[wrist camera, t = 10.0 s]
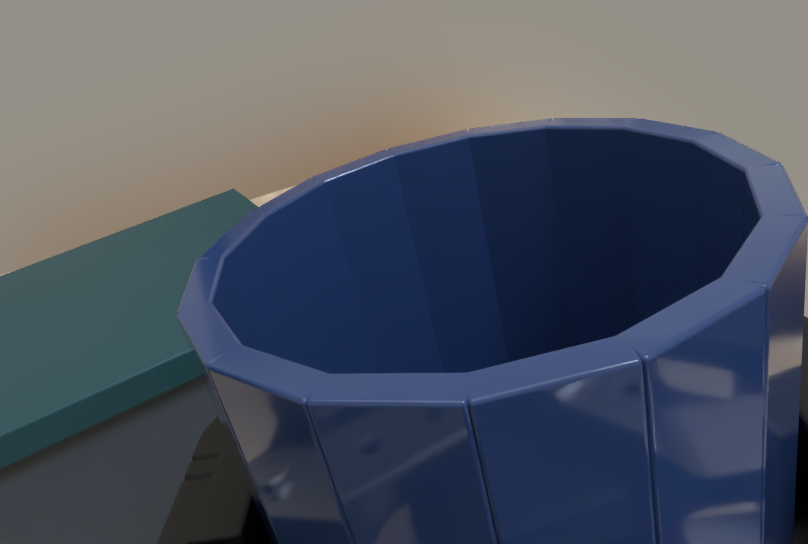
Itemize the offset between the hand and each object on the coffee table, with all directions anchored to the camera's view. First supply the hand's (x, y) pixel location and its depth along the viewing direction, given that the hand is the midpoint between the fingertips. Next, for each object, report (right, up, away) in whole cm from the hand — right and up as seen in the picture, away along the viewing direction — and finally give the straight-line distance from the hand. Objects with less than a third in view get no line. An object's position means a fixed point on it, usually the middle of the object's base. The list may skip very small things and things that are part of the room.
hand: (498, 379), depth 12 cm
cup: (+1, -6, +1) cm, 6 cm away
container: (-9, -4, +11) cm, 14 cm away
